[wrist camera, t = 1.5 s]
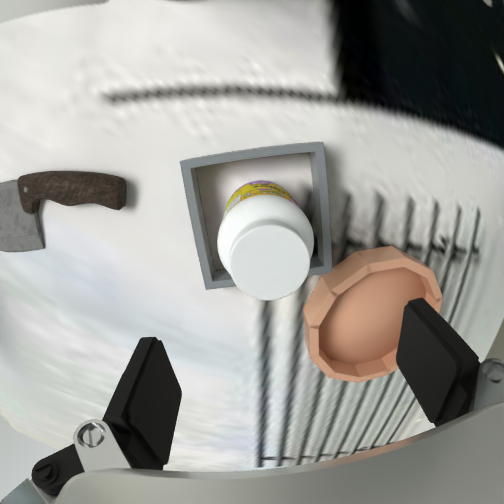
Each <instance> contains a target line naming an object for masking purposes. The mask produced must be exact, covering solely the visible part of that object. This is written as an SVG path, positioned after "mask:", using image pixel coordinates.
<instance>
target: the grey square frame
mask: <svg viewBox="0 0 504 504" xmlns="http://www.w3.org/2000/svg"><path fill="white" fill-rule="evenodd" d="M304 152H310V161H311V170H312V180H313V190H314V202H315V214H316V227H317V242H318V257H312V258H311V259H310V268H309V272H308V275H307V276H312V275H319V274H325V273H332V252H331V230H330V213H329V198H328V185H327V174H326V164H325V154H324V145H323V142H309V143H297V144H287V145H278V146H269V147H261V148H253V149H246V150H239V151H232V152H226V153H220V154H214V155H208V156H202V157H197V158H191V159H186V160H182V161H180V165H181V171H182V176H183V182H184V187H185V193H186V198H187V203H188V209H189V214H190V219H191V224H192V229H193V233H194V238H195V243H196V248H197V252H198V257H199V261H200V266H201V270H202V275H203V279H204V283H205V288H206V290H209V289H217V288H225V287H233V286H237V285H236V284H235V282H234V281H233V279H232V277H231V275H230V274H229V272H228V271H227V270H226V269H225V270H218V271H215V270H214V265H213V261H212V256H211V251H210V246H209V241H208V235H207V230H206V225H205V220H204V215H203V209H202V204H201V198H200V193H199V187H198V181H197V176H196V170H195V167H201V166H206V165H212V164H218V163H224V162H231V161H237V160H244V159H251V158H259V157H267V156H275V155H284V154H293V153H304Z"/></svg>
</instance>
